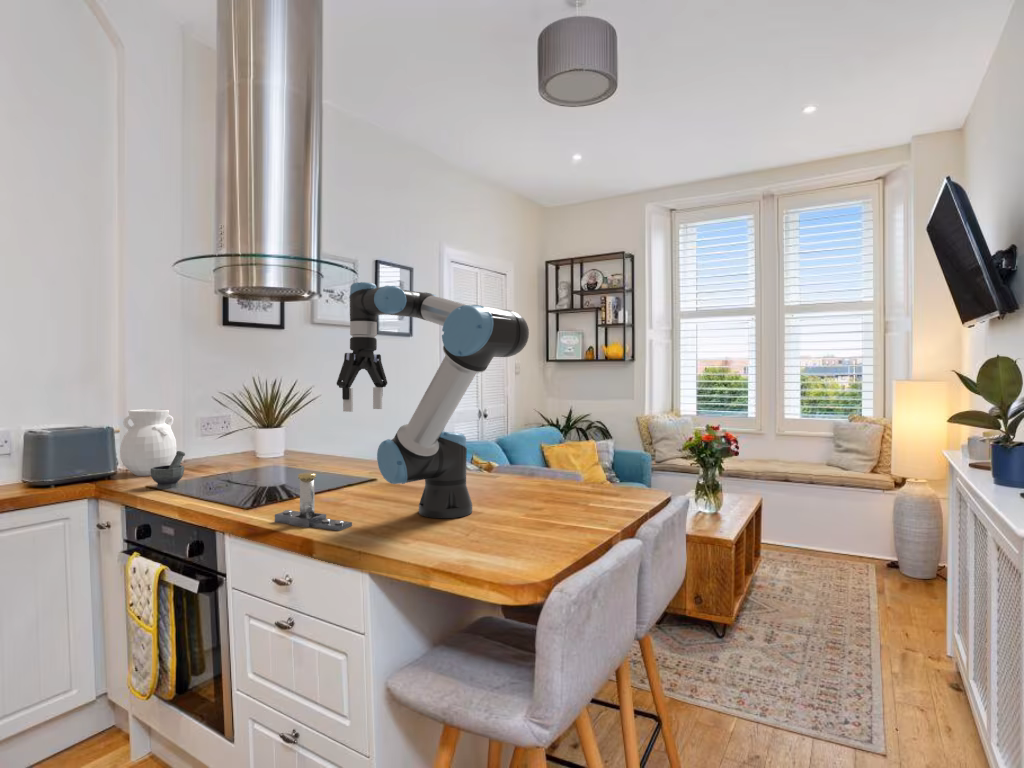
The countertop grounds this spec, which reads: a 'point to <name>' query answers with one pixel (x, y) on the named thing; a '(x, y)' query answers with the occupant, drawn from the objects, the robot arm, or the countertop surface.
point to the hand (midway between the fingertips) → (363, 410)
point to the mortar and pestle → (169, 473)
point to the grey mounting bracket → (311, 521)
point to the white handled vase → (148, 441)
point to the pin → (307, 494)
